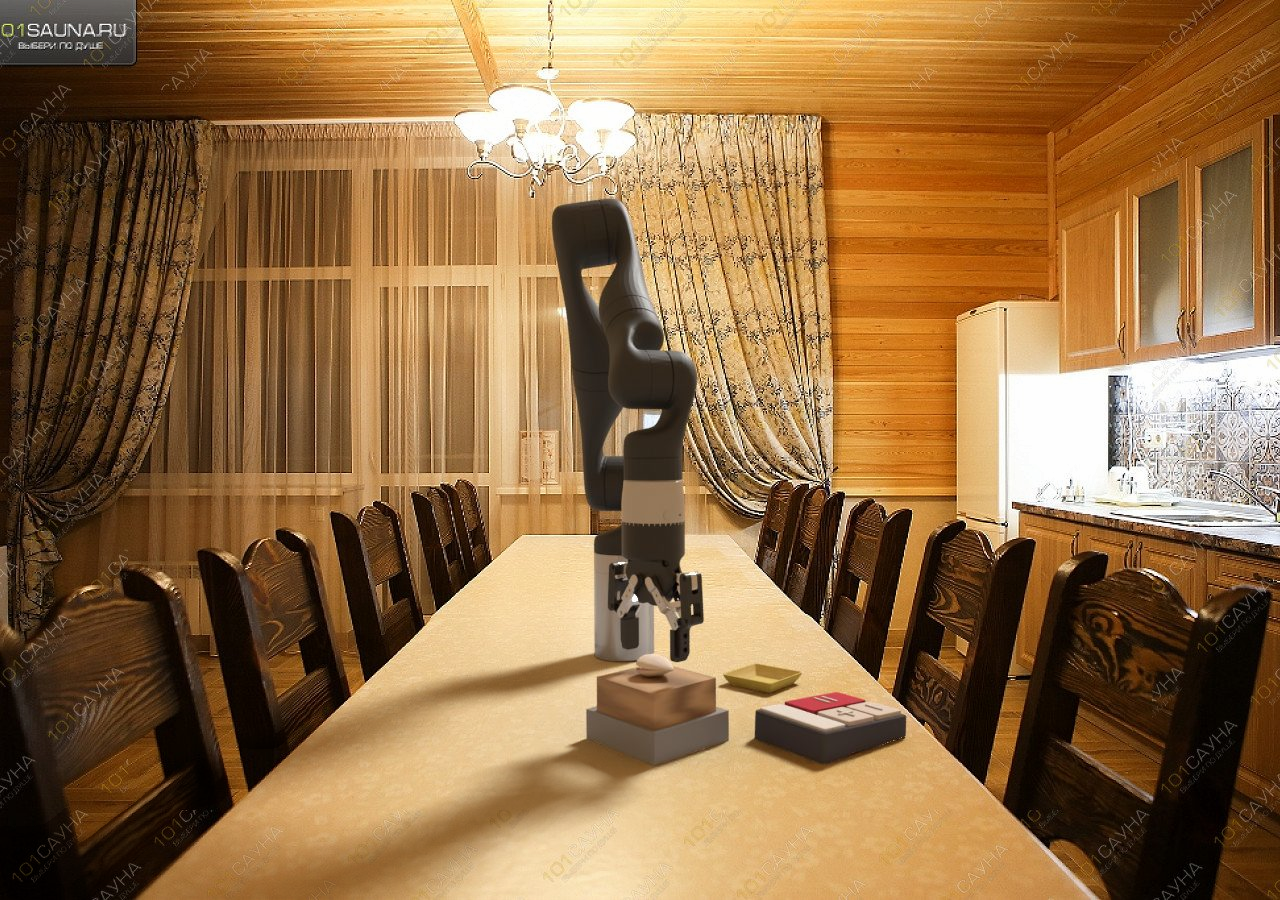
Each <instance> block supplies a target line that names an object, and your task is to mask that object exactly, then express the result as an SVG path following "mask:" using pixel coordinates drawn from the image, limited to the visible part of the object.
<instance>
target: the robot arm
mask: <svg viewBox="0 0 1280 900" xmlns="http://www.w3.org/2000/svg"><path fill="white" fill-rule="evenodd" d="M551 232H552V233H551V234H552V239H553V247H554V252H555V259H556V265H557V268H558V269H557V270H558V273H559V275H558V276H559V278H560V285H561V291H562V296H563V301H564V307H565V314H566V322H567V332H568V342H569V355H570V364H571V365H570V366H571V372H572V382H573V386H574V393H575V398H576V405H577V412H578V419H579V427H580V436H581V451H582V471H583V483H584V485H583V486H584V494H585V499H586V502H587V504H588V506H589V507H590V508H591V509H592V510H593V511H599V512H621V525H619V526H617V527H614V528H613V529H609V530H606V531H604V532H601V533H599V534H597V535H595V537H594V540H593V573H594V574H593V585H594V586H593V587H594V588H593V591H594V592H593V595H594V597H593V600H594V604H593V605H594V624H593V625H594V628H593V629H594V633H593V634H594V638H593V640H594V641H593V643H594V657H596V658H598V659H600V660H604V661H608V662H609V661H611V662H630V661H633V662H634V661H637V660H638V659H639V658H640V657H641V656H643V655H646V654H655V607H657V609H658V610H659V612H660V613H661V614H662V615H664V616H665V617H666V619H667V621H668V624H669V626H670V628H671V629H669V661H670V662H674V663H681V662H684V661H687V660H688V658H689V656H690V652H691V650H690V648H691V647H690V645H691V644H690V643H691V642H690V641H691V640H690V638H691V637H690V631H691V628H692V627H695V626H698V625H700V624H703V623H704V621H705V620H704V619H705V618H704V617H705V615H704V595H703V594H704V593H703V577H702V573H701V572H700V571H692V572H691V571H690V572H683V571H682V568H681V561H682V559H683V558H684V557H685V555H686V532H685V531H686V518H685V517H686V516H685V511H686V509H685V508H686V507H685V505H686V503H685V492H684V486H683V447H684V446H683V445H684V440H685V439H684V438H685V436H686V430H687V425H688V422H689V421H688V420H689V417H690V413H691V410H692V406H693V403H694V400H695V396H696V391H697V387H698V373H697V369H696V366H695V363H694V361H693V360H692V358H691V357H690V356H689V355H688V354H687V353H685V352H683V351H681V350H680V351H678V350H661V349H662V348H663V345H664V341H665V332H664V329H663V327H662V322H661V321H660V319H659V316H658V314H657V312H656V309H655V307H654V304H653V303H652V299H651V298H650V294H649V292H648V288H647V285H646V280H645V276H644V271H643V265H642V261H641V260H642V259H641V256H640V251H639V248H638V244H637V239H636V235H635V231H634V227H633V223H632V220H631V216H630V214H629V212H628V210H627V208H626V206H625V205H624V203H623V202H621V200H619V199H617V198H602V199H601V198H600V199H591V200H587V201H585V200H583V201H578V202H572V203H563V204H560V205H557V206H556V207H555V208H554V210H553V211H552V216H551ZM612 265H615V267H614V269H613V270H612V272H611V274H610V276H609V277H608V280H607V281H606V283H605V285H604V287H603V289H602V291H601V294H600V297H599V302H598V304H597V302H596V300H595V298H593V296H592V295H591V294H590V292H589V290H588V288H587V287H586V285H585V283H584V280H583V275H582V272H583V270H587V269H592V268H598V267H606V266H612ZM623 409H628V410H661V411H660V415H659V418H658V420H657V421H656V423H655V424H654V425H653V426H650V427H646V428H642V429H636V430H634V431H630V432H629V433H627V434H626V435H625V437H624V439H623V448H622V449H623V450H622V451H623V453H622V454H623V455H605V454H604V444H605V441H606V439H607V438H608V434H609V432H610V430H611V428H612V427H613V425H614V423H615V421H617V418H618V417H619V416H620V414H621V413H622V411H623ZM672 600H674V601H672ZM677 615H678V616H677Z"/></svg>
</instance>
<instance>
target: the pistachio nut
mask: <svg viewBox="0 0 1280 900" xmlns="http://www.w3.org/2000/svg"><path fill="white" fill-rule="evenodd" d="M635 661H636V662H635V665H636V667H638V668H636V667H635V668H636V671H637V672H638V673H640V674H641V675H643V676H646V677H651V676H660V675H664V674H666V673H669V672H671V671H673V670H674V668H673V664H672V663H671V660H670V659H668V658H666V657H665V656H664V655H663V656H662V655H661V654H657V653H653V654H646V655H643V656H641V657H640V658H639V659H638V660H635Z"/></svg>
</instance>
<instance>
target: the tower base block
mask: <svg viewBox="0 0 1280 900" xmlns="http://www.w3.org/2000/svg"><path fill="white" fill-rule="evenodd" d="M585 711H586V712H585V713H586V715H585V716H586V717H585V718H586V721H585V722H586V723H585V724H586V725H585V726H586V727H585V728H586V739H587V740H589V741H591V742H594V743H596V744H599V745H601V746H604V747H606V748H609V749H612V750H613V751H616V752H619V753H621V754H624V755H626V756H629V757H631V758H633V759H636V760H639V761H641V762H644V763H646V764H649V765H651V766H653V767H655V766H659V765H662V764H665V763H667V762H671V761H674V760H676V759H679V758H682V757H685V756H687V755H691V754H693V753H697V752H699V751H702V750H705V749H708V748H711V747H714V746H716V745H719V744H723V743H726V742H729V741H730V733H729V732H730V731H729V730H730V718H729V717H730V716H729V710H728V709H726V708H723V707H719V706H716V712H713V713H709V714H706V715H703V716H699V717H696V718H693V719H690V720H686V721H683V722H680V723H677V724H673V725H670V726H667V727H663V728H660V729H657V730H651V729H649V728H646V727H643V726H640V725H637V724H635V723H632V722H629V721H626V720H623V719H620V718H618V717H615V716H612V715H609V714H606V713H603V712H601V711H598V710H597V705H596V706H593V707H588V708H586V709H585Z"/></svg>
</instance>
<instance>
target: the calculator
mask: <svg viewBox="0 0 1280 900" xmlns="http://www.w3.org/2000/svg"><path fill="white" fill-rule="evenodd" d="M754 714H755V715H754V718H755V719H754V740H757V741H759V742H762V743H764V744H767V745H770V746H773V747H774V748H778V749H780V750H784V751H785V752H788V753H790V754H791V753H792V754H793V755H796V756H798V757H799V756H800V757H802V758H804V759H807V760H810V761H812V762H815V763H818V764H820V765H828V764H831V763H833V762H834V763H835V762H837V761H839V760H842V759H846V758H849V757H850V756H851V754H855V753H859V752H862V751H867V750H870V749H873V748H874V749H875V748H877V746H878V747H880V746H879V745H881V746H883V745H882V744H884V745H886V744H885V743H887V742H890V741H893V740H896V739H899V738H901V737H904V736H906V737H907V714H904V713H902V710H901V709H900V708H896V707H892V706H887V705H885V704H881V703H879V702H874V701H866V699H864V698H860V697H856V696H853V695H850V694H846V693H842V692H840V691H834V692H830V693H829V692H828V693H824V694H823V693H822V694H817V695H812V696H807V697H802V698H801V697H800V698H797V699H792V700H791V699H789V700H786V701H784V704H783V703H778V704H774V705H773V704H772V705H767V706H761V707H760V708H759V709H756V710H755V713H754ZM904 738H905V737H904ZM899 740H900V739H899ZM896 741H897V740H896ZM893 742H894V741H893ZM890 743H891V742H890ZM887 744H888V743H887Z"/></svg>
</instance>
